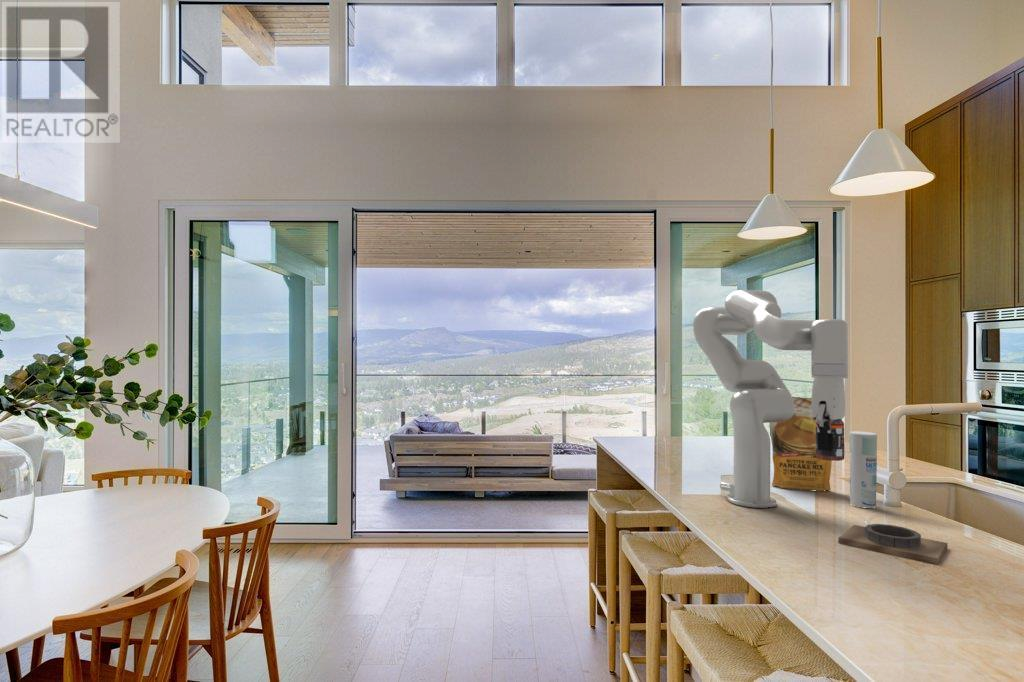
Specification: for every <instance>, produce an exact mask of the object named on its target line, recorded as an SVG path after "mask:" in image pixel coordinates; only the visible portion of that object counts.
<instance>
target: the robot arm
mask: <svg viewBox="0 0 1024 682" xmlns="http://www.w3.org/2000/svg"><path fill="white" fill-rule="evenodd" d="M692 323H693V324H692V326H693V327H692V328H693V330H692V331H693V334H694V338H695V341H696V342H697V344H698V346H699V348H700V349H701V350H702V352H703V353H704V354H705V355H706V357H707V358H708V360H709V361H710V363H711V366H712V367H713V369H714V371H715V373H716V374H717V376H718V379H719V380H720V382H721V384H722V386H723V387H724V388H725V389H726V390H727V391H729V392H731V393H734V394H733V395H732V396H731V397H730V401H729V407H730V414H731V420H732V428H733V482H731V483H728V482H723V481H721V482H720V484H719V489H720V490H721V491H726V492H728V493H729V494H728V495H727V501H728V502H730V503H731V504H734V505H737V506H741V507H747V508H755V509H767V508H768V507H769V508H774V507H776V506H777V500H776V498H774V497H772V496H771V436H770V435H769V434H770V433H769V432H768V430H767V429H766V427H765V425H764V424H768V423H769V424H770V423H771V422H784V421H787V420H789V419H790V418H791V417H792V416H793V414H794V411H795V405H794V401H793V398H792V397H793V396H792V393H791V392H790V390H789V388H787V385H786V384H785V382H784V381H783V380H782V377H781V376H780V375H779V373H778V372H777V370H776V369H775V367H774V366H773V365H772V364H771V363H770V362H767V361H765V360H761V359H747V358H745V357H743V356H742V354H740V351H739V350H738V349H737V347H736V345H735V344H734V343H733V342H731V340H729V339H727V338H726V337H725V336H726V335H727V336H741V335H742V336H743V335H747V334H748V333H751V332H753V331H754V334H755V336H756V338H757V339H758V340H759V341H761V342H763V343H765V344H766V345H769V346H770V347H772V348H774V349H778V350H780V351H781V350H782V351H804V352H805V351H807V352H809V351H810V352H811V353H810V354H811V355H810V356H811V361H810V362H811V364H810V365H811V378H813V381H812V390H811V398H812V402H811V417H812V419H814V420H817V425H818V427H817V436H818V449H819V450H825V451H833V433H831V432H832V424H833V421H835V420H838V419H841V421H843V420H842V419H843V418H845V416H846V391H845V379H848V378H849V370H848V369H849V367H848V366H849V365H848V364H849V363H848V362H849V361H848V360H849V359H848V355H849V354H848V353H849V351H848V324H847V321H846V320H844V319H840V318H839V319H838V318H824V319H816V320H807V319H783V318H782V309H781V307H780V306H779V305H778V301H777V297H775V296H774V294H773V293H771V292H769V291H767V290H758V289H757V290H756V289H754V290H753V289H738V290H734V291H731V292H730V293H729V294H728V295H727V297H726V298H725V300H724V306H711V307H705V308H702V309H700V310H699V311H697V313H696V314H695V315H694V317H693V321H692ZM824 417H827V418H830V419H824ZM827 423H828V425H827Z"/></svg>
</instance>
